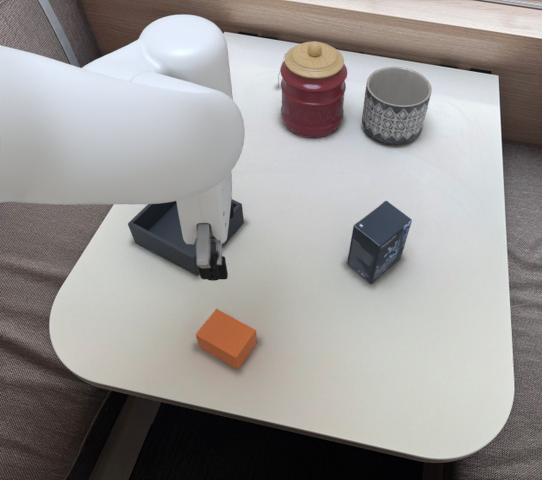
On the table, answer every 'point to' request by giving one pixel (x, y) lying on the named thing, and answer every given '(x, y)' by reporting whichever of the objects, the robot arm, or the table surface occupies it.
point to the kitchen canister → (313, 89)
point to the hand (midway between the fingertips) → (218, 245)
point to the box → (378, 241)
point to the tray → (173, 233)
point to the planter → (395, 104)
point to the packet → (227, 338)
